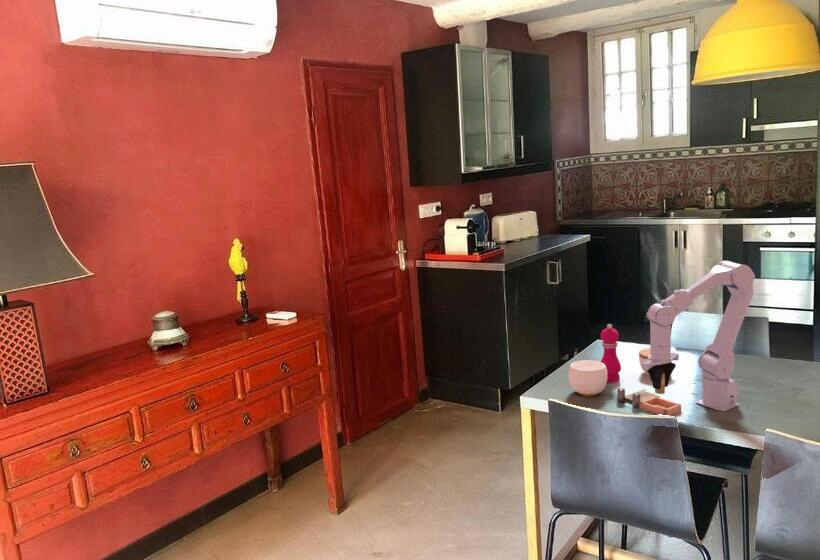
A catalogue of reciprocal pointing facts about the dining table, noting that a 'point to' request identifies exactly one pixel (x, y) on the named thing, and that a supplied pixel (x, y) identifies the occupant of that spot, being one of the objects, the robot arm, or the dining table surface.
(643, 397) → the tan flat wooden block
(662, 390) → the dowel
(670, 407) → the dish
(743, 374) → the dining table surface
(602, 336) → the pepper mill
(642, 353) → the lidded jar
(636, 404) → the bench dogs
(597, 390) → the cup
